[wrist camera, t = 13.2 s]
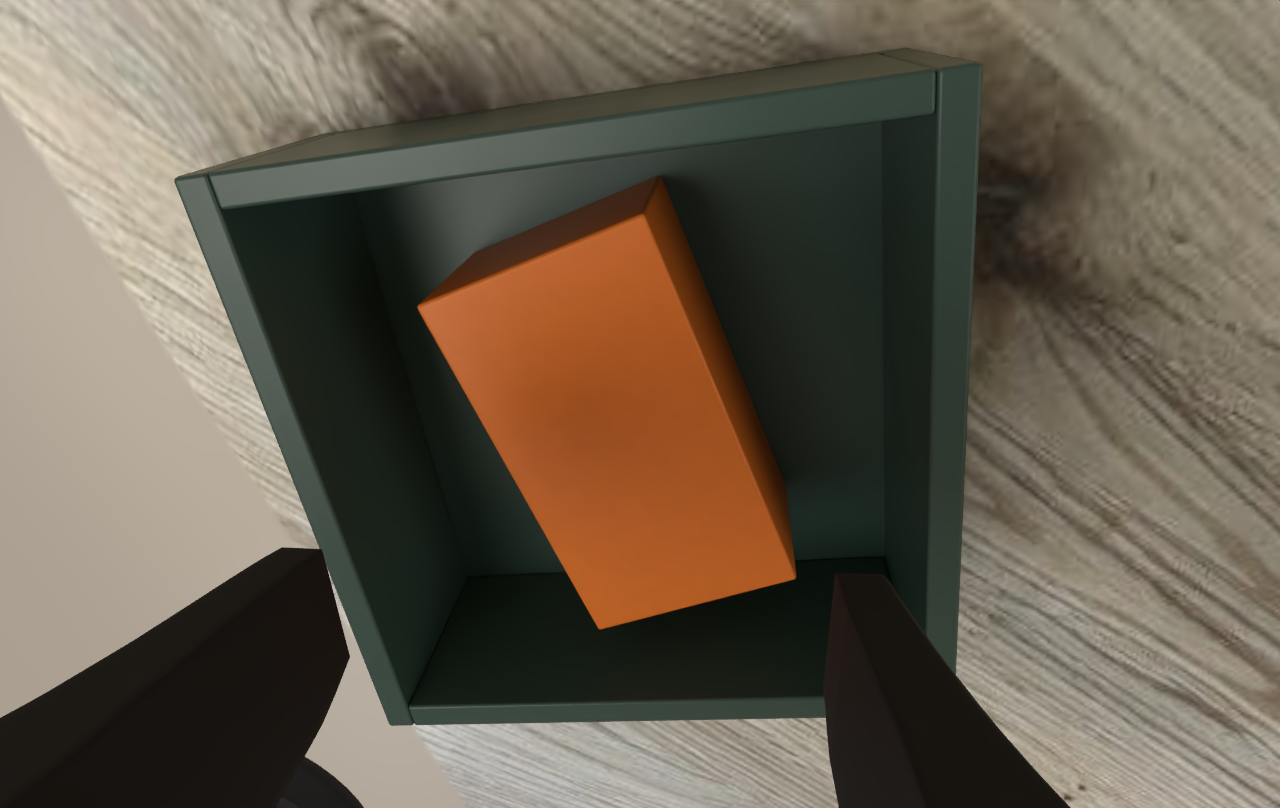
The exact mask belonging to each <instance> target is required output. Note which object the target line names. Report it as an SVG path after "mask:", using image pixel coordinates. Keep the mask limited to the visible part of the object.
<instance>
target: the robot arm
mask: <svg viewBox="0 0 1280 808" xmlns="http://www.w3.org/2000/svg"><path fill="white" fill-rule="evenodd" d="M349 658H350V655H349V651H348V648H347V644H346V640H345V636H344V633H343V628H342V624H341V620H340V617H339V613H338V609H337V605H336V601H335V597H334V593H333V589H332V586H331V582H330V578H329V574H328V570H327V566H326V562H325V558H324V555H323V551H322V549H305V548H280V549H278V550H277V551H275V552H273V553H271V554H270V555H268V556H266V557H264V558H263V559H261V560H259V561H258V562H256V563H254V564H253V565H251V566H249V567H248V568H246V569H245V570H243V571H241V572H240V573H238V574H237V575H235V576H233V577H232V578H230V579H229V580H227V581H226V582H224V583H223V584H221V585H219V586H218V587H216V588H215V589H213V590H212V591H210V592H209V593H207V594H206V595H204V596H203V597H201V598H199V599H198V600H196V601H195V602H193V603H192V604H190V605H189V606H187V607H185V608H184V609H182V610H181V611H179V612H177V613H176V614H174V615H173V616H171V617H170V618H168V619H167V620H165V621H163V622H162V623H161V624H159V625H157V626H156V627H154V628H153V629H151V630H149V631H148V632H146V633H145V634H143V635H142V636H140V637H139V638H137V639H135V640H134V641H132V642H130V643H129V644H127V645H125V646H124V647H122V648H120V649H119V650H117V651H115V652H114V653H112V654H110V655H109V656H107V657H105V658H104V659H102V660H100V661H99V662H97V663H95V664H94V665H92V666H90V667H89V668H87V669H85V670H84V671H82V672H80V673H79V674H77V675H75V676H74V677H72V678H70V679H68V680H67V681H65V682H64V683H62V684H60V685H59V686H57V687H55V688H53V689H52V690H50V691H48V692H47V693H45V694H43V695H41V696H39V697H38V698H36V699H34V700H32V701H31V702H29V703H27V704H25V705H23V706H21V707H20V708H18V709H16V710H14V711H12V712H10V713H9V714H7V715H5V716H3V717H1V718H0V808H275V807H276V806H277V804H278V802H279V800H280V799H281V797H282V795H283V793H284V792H285V790H286V788H287V786H288V785H289V783H290V781H291V779H292V778H293V776H294V774H295V772H296V771H297V769H298V767H299V765H300V764H301V762H302V760H303V758H304V756H305V754H306V753H307V751H308V749H309V747H310V746H311V744H312V742H313V740H314V739H315V737H316V735H317V733H318V731H319V729H320V727H321V726H322V724H323V722H324V719H325V717H326V714H327V712H328V710H329V708H330V705H331V703H332V701H333V698H334V696H335V694H336V691H337V689H338V686H339V683H340V681H341V678H342V676H343V673H344V670H345V668H346V666H347V663H348V660H349ZM823 688H824V701H825V713H826V725H827V736H828V746H829V757H830V763H831V769H832V774H833V779H834V784H835V789H836V794H837V800H838V805H839V808H1070V807H1069V806H1068V805H1067V804H1066V802H1065V801H1064V800H1063V799H1062V798H1061V797H1060V796H1059V795H1058V794H1057V793H1056V792H1055V791H1054V790H1053V789H1052V788H1051V787H1050V786H1049V784H1048V783H1047V782H1046V781H1045V780H1044V779H1043V778H1042V777H1041V776H1040V775H1039V774H1038V772H1037V771H1036V770H1035V769H1034V768H1033V767H1032V766H1031V765H1030V764H1029V763H1028V761H1027V760H1026V759H1025V758H1024V757H1023V756H1022V755H1021V753H1020V752H1019V751H1018V750H1017V749H1016V748H1015V747H1014V745H1013V744H1012V743H1011V742H1010V741H1009V740H1008V739H1007V737H1006V736H1005V735H1004V734H1003V733H1002V732H1001V730H1000V729H999V728H998V727H997V726H996V724H995V723H994V722H993V721H992V720H991V718H990V717H989V716H988V715H987V714H986V712H985V711H984V710H983V709H982V708H981V706H980V705H979V704H978V703H977V701H976V700H975V699H974V698H973V696H972V695H971V694H970V692H969V691H968V690H967V689H966V687H965V686H964V685H963V684H962V682H961V681H960V680H959V679H958V677H957V676H956V675H955V673H954V672H953V671H952V670H951V668H950V667H949V666H948V664H947V663H946V662H945V660H944V659H943V658H942V656H941V655H940V654H939V652H938V651H937V650H936V648H935V647H934V646H933V644H932V643H931V641H930V640H929V639H928V637H927V636H926V634H925V633H924V632H923V630H922V629H921V627H920V626H919V625H918V623H917V622H916V620H915V619H914V617H913V616H912V615H911V613H910V612H909V610H908V609H907V607H906V606H905V604H904V603H903V601H902V600H901V598H900V597H899V595H898V594H897V592H896V591H895V589H894V588H893V586H892V585H891V583H890V582H889V581H888V580H887V579H886V578H885V577H884V576H883V575H881V574H859V573H837V572H836V573H835V582H834V591H833V600H832V609H831V619H830V628H829V637H828V646H827V655H826V665H825V674H824V683H823Z"/></svg>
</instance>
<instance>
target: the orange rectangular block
mask: <svg viewBox="0 0 1280 808" xmlns="http://www.w3.org/2000/svg"><path fill="white" fill-rule="evenodd" d="M417 307H418V311H419V312H420V314H421V316H422V318H423V319H424V321H425V323H426V325H427V326H428V328H429V330H430V332H431V334H432V335H433V337H434V339H435V341H436V342H437V344H438V346H439V348H440V349H441V351H442V353H443V355H444V357H445V358H446V360H447V362H448V364H449V365H450V367H451V369H452V371H453V372H454V374H455V376H456V378H457V380H458V381H459V383H460V385H461V387H462V388H463V390H464V392H465V394H466V395H467V397H468V399H469V401H470V403H471V404H472V406H473V408H474V410H475V411H476V413H477V415H478V417H479V418H480V420H481V422H482V424H483V426H484V427H485V429H486V431H487V433H488V434H489V436H490V438H491V440H492V441H493V443H494V445H495V447H496V449H497V450H498V452H499V454H500V456H501V457H502V459H503V461H504V463H505V465H506V466H507V468H508V470H509V472H510V473H511V475H512V477H513V479H514V480H515V482H516V484H517V486H518V488H519V489H520V491H521V493H522V495H523V496H524V498H525V500H526V502H527V503H528V505H529V507H530V509H531V511H532V512H533V514H534V516H535V518H536V519H537V521H538V523H539V525H540V526H541V528H542V530H543V532H544V534H545V535H546V537H547V539H548V541H549V542H550V544H551V546H552V548H553V549H554V551H555V553H556V555H557V557H558V558H559V560H560V562H561V564H562V565H563V567H564V569H565V571H566V572H567V574H568V576H569V578H570V580H571V581H572V583H573V585H574V587H575V588H576V590H577V592H578V594H579V595H580V597H581V599H582V601H583V603H584V604H585V606H586V608H587V610H588V611H589V613H590V615H591V617H592V618H593V620H594V622H595V624H596V626H597V627H598V629H605V628H608V627H612V626H616V625H620V624H624V623H628V622H632V621H636V620H639V619H643V618H647V617H651V616H655V615H659V614H663V613H666V612H670V611H674V610H678V609H682V608H686V607H690V606H694V605H697V604H701V603H705V602H709V601H713V600H717V599H721V598H724V597H728V596H732V595H736V594H740V593H744V592H748V591H752V590H755V589H759V588H763V587H767V586H771V585H775V584H779V583H782V582H786V581H790V580H794V579H795V578H796V568H795V559H794V551H793V542H792V533H791V525H790V516H789V508H788V499H787V491H786V485H785V482H784V480H783V477H782V475H781V472H780V470H779V467H778V465H777V462H776V460H775V457H774V455H773V452H772V450H771V447H770V445H769V442H768V440H767V438H766V435H765V433H764V430H763V428H762V425H761V423H760V420H759V418H758V415H757V413H756V410H755V408H754V405H753V403H752V400H751V398H750V395H749V393H748V390H747V388H746V385H745V383H744V380H743V378H742V375H741V373H740V370H739V368H738V365H737V363H736V360H735V358H734V355H733V353H732V350H731V348H730V345H729V343H728V341H727V338H726V336H725V333H724V331H723V328H722V326H721V323H720V321H719V318H718V316H717V313H716V311H715V308H714V306H713V303H712V301H711V298H710V296H709V293H708V291H707V288H706V286H705V283H704V281H703V278H702V276H701V273H700V271H699V268H698V266H697V263H696V261H695V258H694V256H693V253H692V251H691V249H690V246H689V244H688V241H687V239H686V236H685V234H684V231H683V229H682V226H681V224H680V221H679V219H678V216H677V214H676V211H675V209H674V206H673V204H672V201H671V199H670V196H669V194H668V191H667V189H666V186H665V184H664V181H663V179H662V177H661V176H656V177H653V178H651V179H648V180H646V181H644V182H641V183H639V184H637V185H634V186H632V187H629V188H627V189H625V190H622V191H620V192H617V193H615V194H613V195H610V196H608V197H606V198H603V199H601V200H598V201H596V202H594V203H591V204H589V205H587V206H584V207H582V208H579V209H577V210H575V211H572V212H570V213H568V214H565V215H563V216H560V217H558V218H556V219H553V220H551V221H549V222H546V223H544V224H541V225H539V226H537V227H534V228H532V229H529V230H527V231H525V232H522V233H520V234H518V235H515V236H513V237H510V238H508V239H506V240H503V241H501V242H499V243H496V244H494V245H491V246H489V247H487V248H484V249H482V250H480V251H477V252H475V253H473V254H472V255H471V256H470V257H469V258H468V259H467V260H466V261H465V262H464V263H463V264H462V265H460V266H459V267H458V268H457V269H456V270H455V271H454V272H453V273H452V274H451V275H450V276H449V277H448V278H447V279H445V280H444V281H443V282H442V283H441V284H440V285H439V286H438V287H437V288H436V289H435V290H434V291H433V292H431V293H430V294H429V295H428V296H427V297H426V298H425V299H424V300H423V301H422V302H421V303H420V304H419V305H418V306H417Z"/></svg>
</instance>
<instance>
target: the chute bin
mask: <svg viewBox="0 0 1280 808" xmlns="http://www.w3.org/2000/svg"><path fill="white" fill-rule="evenodd" d="M982 75H983V66H982V64H981V63H979V62H975V61H970V60H965V59H959V58H954V57H949V56H944V55H939V54H934V53H929V52H924V51H918V50H913V49H909V48H901V49H894V50H887V51H881V52H874V53H867V54H860V55H854V56H847V57H840V58H833V59H827V60H820V61H813V62H806V63H800V64H793V65H786V66H779V67H773V68H766V69H759V70H752V71H746V72H739V73H732V74H725V75H719V76H712V77H705V78H698V79H692V80H685V81H678V82H671V83H665V84H658V85H651V86H644V87H638V88H631V89H624V90H617V91H611V92H604V93H597V94H590V95H584V96H577V97H570V98H564V99H557V100H550V101H543V102H537V103H530V104H523V105H516V106H510V107H503V108H496V109H489V110H483V111H476V112H469V113H462V114H456V115H449V116H442V117H435V118H429V119H422V120H415V121H408V122H402V123H395V124H388V125H381V126H375V127H368V128H361V129H354V130H348V131H341V132H334V133H327V134H321V135H318V136H314V137H312V138H307V139H304V140H301V141H297V142H294V143H290V144H287V145H284V146H280V147H277V148H273V149H270V150H267V151H263V152H260V153H256V154H253V155H250V156H246V157H243V158H239V159H236V160H233V161H229V162H226V163H222V164H219V165H216V166H212V167H209V168H205V169H202V170H199V171H195V172H192V173H188V174H185V175H182V176H178V177H177V178H175V184H176V187H177V189H178V192H179V194H180V197H181V199H182V202H183V204H184V207H185V209H186V212H187V214H188V217H189V219H190V222H191V224H192V227H193V230H194V232H195V235H196V237H197V240H198V242H199V245H200V247H201V250H202V252H203V255H204V257H205V260H206V262H207V265H208V267H209V270H210V272H211V275H212V278H213V280H214V283H215V285H216V288H217V290H218V293H219V295H220V298H221V300H222V303H223V305H224V308H225V310H226V313H227V315H228V318H229V320H230V323H231V325H232V328H233V331H234V333H235V336H236V338H237V341H238V343H239V346H240V348H241V351H242V353H243V356H244V358H245V361H246V363H247V366H248V368H249V371H250V373H251V376H252V378H253V381H254V384H255V386H256V389H257V391H258V394H259V396H260V399H261V401H262V404H263V406H264V409H265V411H266V414H267V416H268V419H269V421H270V424H271V426H272V429H273V431H274V434H275V437H276V439H277V442H278V444H279V447H280V449H281V452H282V454H283V457H284V459H285V462H286V464H287V467H288V469H289V472H290V474H291V477H292V479H293V482H294V485H295V487H296V490H297V492H298V495H299V497H300V500H301V502H302V505H303V507H304V510H305V512H306V515H307V517H308V520H309V522H310V525H311V527H312V530H313V532H314V535H315V538H316V540H317V543H318V545H319V548H320V549H322V551H323V555H324V558H325V562H326V565H327V568H328V570H329V573H330V575H331V578H332V580H333V583H334V585H335V588H336V591H337V593H338V596H339V598H340V601H341V603H342V606H343V608H344V611H345V613H346V616H347V618H348V621H349V623H350V626H351V628H352V631H353V633H354V636H355V639H356V641H357V644H358V646H359V649H360V651H361V654H362V656H363V659H364V661H365V664H366V666H367V669H368V671H369V674H370V676H371V679H372V681H373V684H374V686H375V689H376V692H377V694H378V697H379V699H380V701H381V704H382V707H383V709H384V712H385V714H386V717H387V719H388V722H389V724H390V725H392V726H394V725H413V724H414V723H415V724H416V725H444V724H499V723H555V722H610V721H665V720H720V719H775V718H826V713H825V701H824V688H823V683H824V674H825V665H826V655H827V646H828V637H829V628H830V619H831V609H832V600H833V591H834V582H835V573H836V572H837V573H859V574H881V575H883V576H884V577H885V578H886V579H887V580H888V581H889V582H890V583H891V585H892V586H893V588H894V589H895V591H896V592H897V594H898V595H899V597H900V598H901V600H902V601H903V603H904V604H905V606H906V607H907V609H908V610H909V612H910V613H911V615H912V616H913V617H914V619H915V620H916V622H917V623H918V625H919V626H920V627H921V629H922V630H923V632H924V633H925V634H926V636H927V637H928V639H929V640H930V641H931V643H932V644H933V646H934V647H935V648H936V650H937V651H938V652H939V654H940V655H941V656H942V658H943V659H944V660H945V662H946V663H947V664H948V666H949V667H950V668H951V670H952V671H953V672H954V673H955V675H956V657H957V635H958V612H959V590H960V567H961V545H962V523H963V500H964V478H965V456H966V433H967V411H968V388H969V366H970V344H971V321H972V299H973V277H974V254H975V232H976V209H977V187H978V165H979V142H980V120H981V98H982ZM656 176H661V177H662V179H663V181H664V184H665V186H666V189H667V191H668V194H669V196H670V199H671V201H672V204H673V206H674V209H675V211H676V214H677V216H678V219H679V221H680V224H681V226H682V229H683V231H684V234H685V236H686V239H687V241H688V244H689V246H690V249H691V251H692V253H693V256H694V258H695V261H696V263H697V266H698V268H699V271H700V273H701V276H702V278H703V281H704V283H705V286H706V288H707V291H708V293H709V296H710V298H711V301H712V303H713V306H714V308H715V311H716V313H717V316H718V318H719V321H720V323H721V326H722V328H723V331H724V333H725V336H726V338H727V341H728V343H729V345H730V348H731V350H732V353H733V355H734V358H735V360H736V363H737V365H738V368H739V370H740V373H741V375H742V378H743V380H744V383H745V385H746V388H747V390H748V393H749V395H750V398H751V400H752V403H753V405H754V408H755V410H756V413H757V415H758V418H759V420H760V423H761V425H762V428H763V430H764V433H765V435H766V438H767V440H768V442H769V445H770V447H771V450H772V452H773V455H774V457H775V460H776V462H777V465H778V467H779V470H780V472H781V475H782V477H783V480H784V482H785V485H786V491H787V499H788V508H789V516H790V525H791V533H792V542H793V551H794V559H795V568H796V578H795V579H794V580H790V581H786V582H782V583H779V584H775V585H771V586H767V587H763V588H759V589H755V590H752V591H748V592H744V593H740V594H736V595H732V596H728V597H724V598H721V599H717V600H713V601H709V602H705V603H701V604H697V605H694V606H690V607H686V608H682V609H678V610H674V611H670V612H666V613H663V614H659V615H655V616H651V617H647V618H643V619H639V620H636V621H632V622H628V623H624V624H620V625H616V626H612V627H608V628H605V629H598V627H597V626H596V624H595V622H594V620H593V618H592V617H591V615H590V613H589V611H588V610H587V608H586V606H585V604H584V603H583V601H582V599H581V597H580V595H579V594H578V592H577V590H576V588H575V587H574V585H573V583H572V581H571V580H570V578H569V576H568V574H567V572H566V571H565V569H564V567H563V565H562V564H561V562H560V560H559V558H558V557H557V555H556V553H555V551H554V549H553V548H552V546H551V544H550V542H549V541H548V539H547V537H546V535H545V534H544V532H543V530H542V528H541V526H540V525H539V523H538V521H537V519H536V518H535V516H534V514H533V512H532V511H531V509H530V507H529V505H528V503H527V502H526V500H525V498H524V496H523V495H522V493H521V491H520V489H519V488H518V486H517V484H516V482H515V480H514V479H513V477H512V475H511V473H510V472H509V470H508V468H507V466H506V465H505V463H504V461H503V459H502V457H501V456H500V454H499V452H498V450H497V449H496V447H495V445H494V443H493V441H492V440H491V438H490V436H489V434H488V433H487V431H486V429H485V427H484V426H483V424H482V422H481V420H480V418H479V417H478V415H477V413H476V411H475V410H474V408H473V406H472V404H471V403H470V401H469V399H468V397H467V395H466V394H465V392H464V390H463V388H462V387H461V385H460V383H459V381H458V380H457V378H456V376H455V374H454V372H453V371H452V369H451V367H450V365H449V364H448V362H447V360H446V358H445V357H444V355H443V353H442V351H441V349H440V348H439V346H438V344H437V342H436V341H435V339H434V337H433V335H432V334H431V332H430V330H429V328H428V326H427V325H426V323H425V321H424V319H423V318H422V316H421V314H420V312H419V311H418V307H417V306H418V305H419V304H420V303H421V302H422V301H423V300H424V299H425V298H426V297H427V296H428V295H429V294H430V293H431V292H433V291H434V290H435V289H436V288H437V287H438V286H439V285H440V284H441V283H442V282H443V281H444V280H445V279H447V278H448V277H449V276H450V275H451V274H452V273H453V272H454V271H455V270H456V269H457V268H458V267H459V266H460V265H462V264H463V263H464V262H465V261H466V260H467V259H468V258H469V257H470V256H471V255H472V254H473V253H475V252H477V251H480V250H482V249H484V248H487V247H489V246H491V245H494V244H496V243H499V242H501V241H503V240H506V239H508V238H510V237H513V236H515V235H518V234H520V233H522V232H525V231H527V230H529V229H532V228H534V227H537V226H539V225H541V224H544V223H546V222H549V221H551V220H553V219H556V218H558V217H560V216H563V215H565V214H568V213H570V212H572V211H575V210H577V209H579V208H582V207H584V206H587V205H589V204H591V203H594V202H596V201H598V200H601V199H603V198H606V197H608V196H610V195H613V194H615V193H617V192H620V191H622V190H625V189H627V188H629V187H632V186H634V185H637V184H639V183H641V182H644V181H646V180H648V179H651V178H653V177H656Z"/></svg>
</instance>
